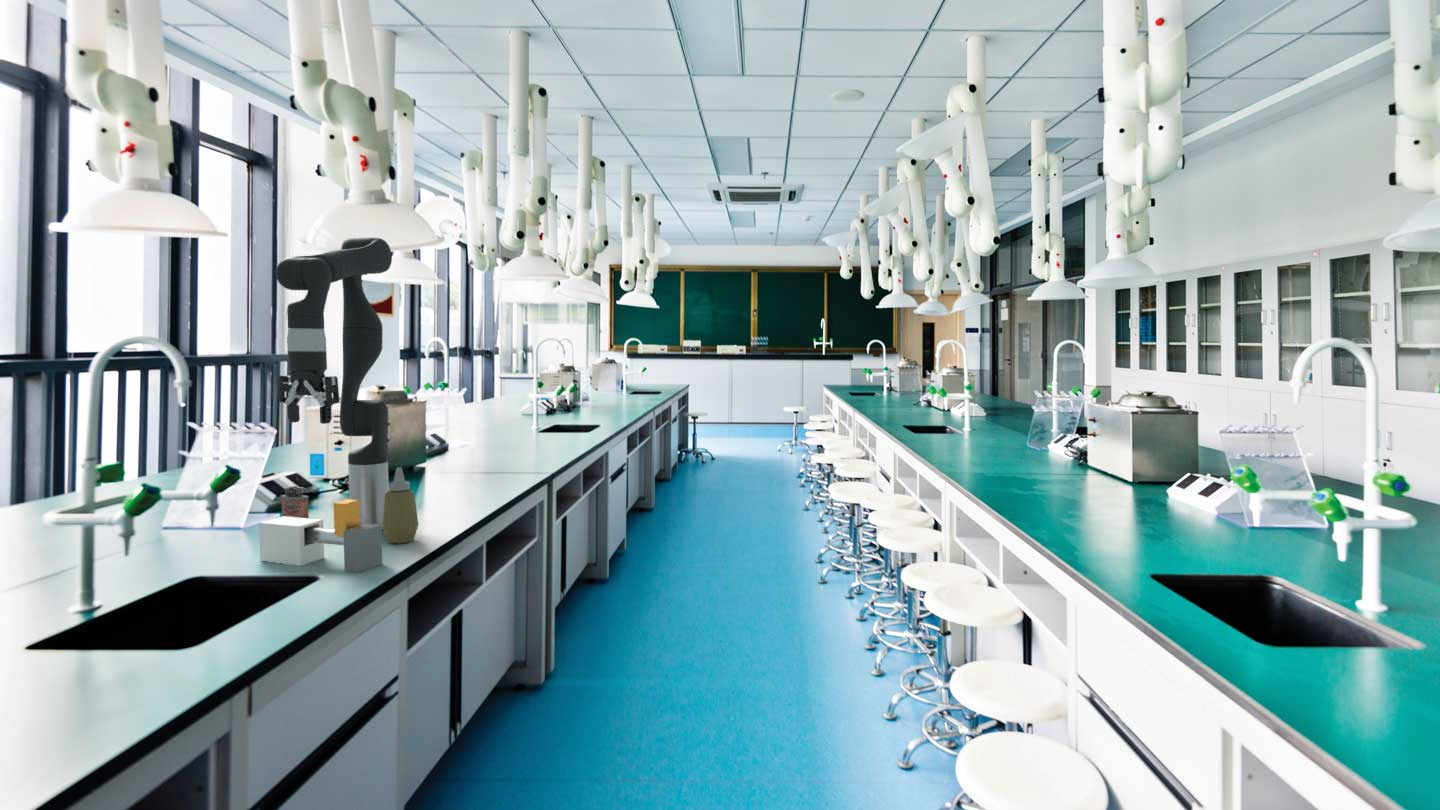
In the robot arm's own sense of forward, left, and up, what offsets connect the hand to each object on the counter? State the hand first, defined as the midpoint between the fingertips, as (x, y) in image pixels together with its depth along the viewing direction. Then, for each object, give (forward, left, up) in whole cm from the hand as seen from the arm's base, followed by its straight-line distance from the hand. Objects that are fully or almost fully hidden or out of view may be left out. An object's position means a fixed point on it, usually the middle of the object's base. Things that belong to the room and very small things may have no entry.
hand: (309, 422), depth 163 cm
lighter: (-22, -28, -30) cm, 47 cm away
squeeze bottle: (-16, +10, -30) cm, 36 cm away
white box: (+4, -2, -30) cm, 30 cm away
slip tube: (+4, +10, -26) cm, 28 cm away
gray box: (+4, +17, -30) cm, 35 cm away
